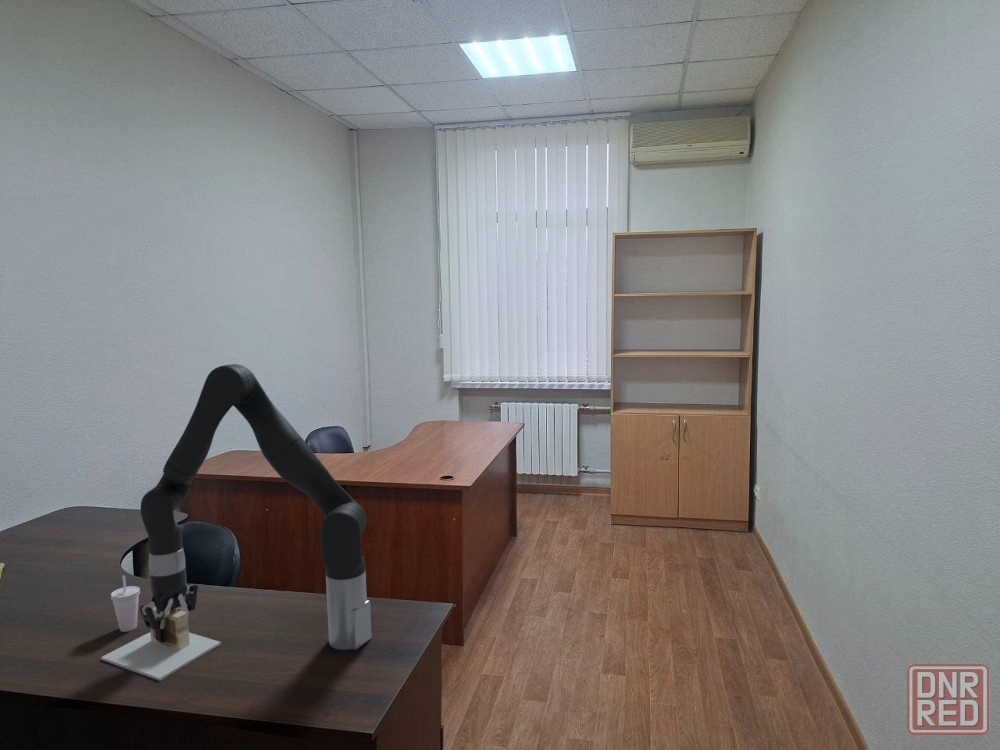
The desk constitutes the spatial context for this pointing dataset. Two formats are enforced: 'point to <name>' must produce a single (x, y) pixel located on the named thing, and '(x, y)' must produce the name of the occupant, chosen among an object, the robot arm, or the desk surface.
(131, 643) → the mat
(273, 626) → the desk surface
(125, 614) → the smoothie
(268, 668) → the desk surface
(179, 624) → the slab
